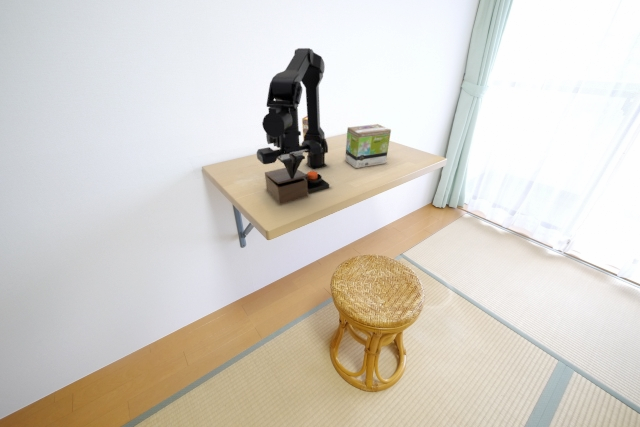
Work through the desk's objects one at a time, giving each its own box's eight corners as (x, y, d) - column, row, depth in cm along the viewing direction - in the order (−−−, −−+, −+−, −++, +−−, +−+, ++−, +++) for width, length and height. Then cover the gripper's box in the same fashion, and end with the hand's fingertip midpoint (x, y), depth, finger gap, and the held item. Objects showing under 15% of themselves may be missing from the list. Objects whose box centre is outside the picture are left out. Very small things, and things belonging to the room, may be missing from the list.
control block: (296, 182, 96) (296, 174, 94) (315, 178, 100) (315, 169, 98) (309, 193, 89) (309, 184, 87) (329, 188, 92) (329, 179, 91)
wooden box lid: (307, 176, 83) (307, 174, 83) (278, 184, 79) (278, 182, 78) (291, 167, 93) (291, 166, 92) (264, 174, 88) (264, 172, 88)
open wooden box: (307, 196, 87) (307, 180, 84) (279, 204, 83) (278, 187, 80) (292, 183, 96) (291, 168, 93) (266, 190, 92) (264, 174, 88)
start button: (305, 177, 93) (305, 172, 92) (314, 174, 95) (314, 170, 94) (310, 180, 91) (310, 176, 90) (319, 178, 92) (319, 173, 91)
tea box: (356, 169, 106) (359, 133, 98) (344, 161, 114) (346, 126, 106) (386, 163, 111) (391, 128, 103) (373, 156, 119) (377, 122, 111)
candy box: (311, 152, 124) (310, 118, 115) (303, 151, 125) (301, 118, 117) (317, 146, 131) (316, 114, 123) (309, 145, 132) (308, 114, 124)
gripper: (304, 117, 82) (306, 163, 91) (247, 125, 75) (254, 174, 83) (322, 124, 74) (322, 174, 83) (260, 134, 66) (267, 188, 75)
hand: (291, 177), depth 81 cm, fingers closed
